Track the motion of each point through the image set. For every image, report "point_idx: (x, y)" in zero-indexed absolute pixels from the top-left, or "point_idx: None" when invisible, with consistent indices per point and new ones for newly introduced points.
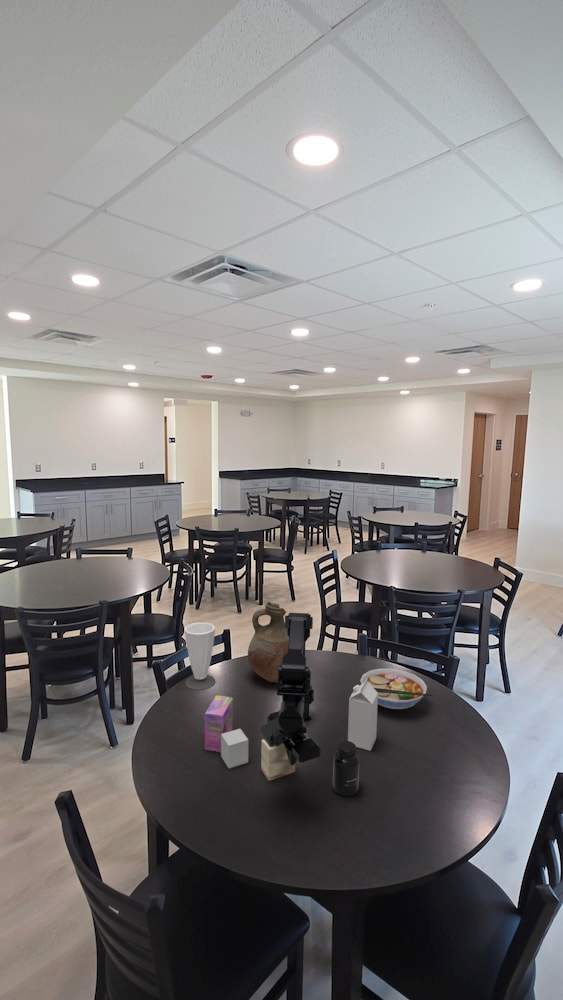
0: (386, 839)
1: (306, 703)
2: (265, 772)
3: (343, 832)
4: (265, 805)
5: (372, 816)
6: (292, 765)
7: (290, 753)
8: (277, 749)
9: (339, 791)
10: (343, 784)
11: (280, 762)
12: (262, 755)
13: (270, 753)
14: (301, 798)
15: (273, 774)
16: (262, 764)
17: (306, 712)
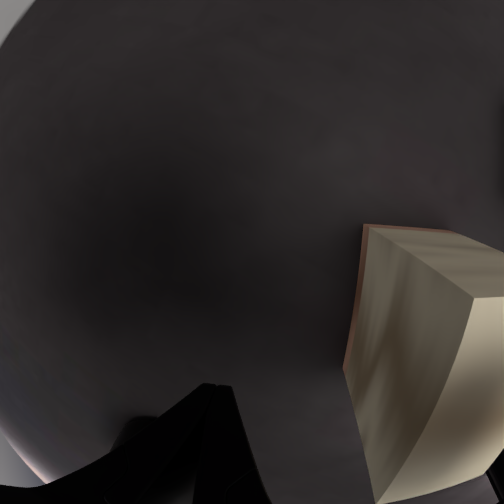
0: (6, 380)
1: (501, 500)
2: (414, 230)
3: (17, 323)
4: (204, 118)
5: (56, 412)
6: (352, 380)
7: (95, 475)
8: (433, 381)
9: (131, 426)
10: (111, 450)
11: (381, 335)
12: (494, 253)
13: (447, 293)
14: (168, 305)
15: (369, 259)
16: (459, 238)
17: (492, 477)
